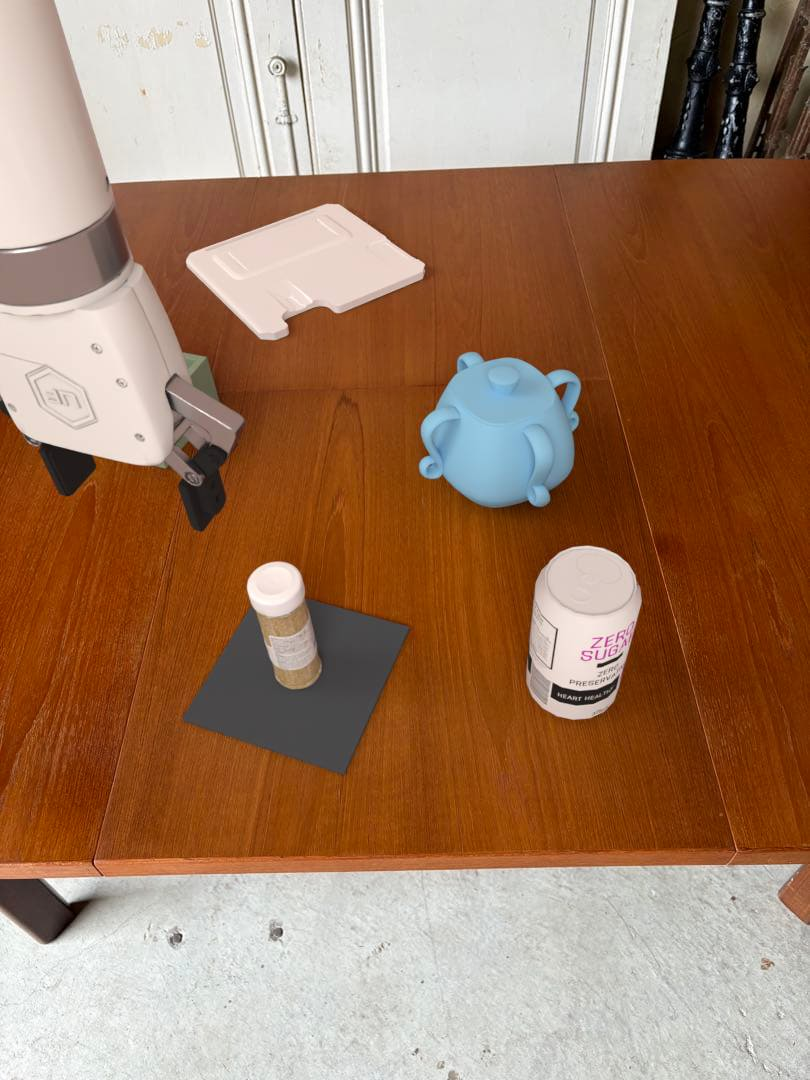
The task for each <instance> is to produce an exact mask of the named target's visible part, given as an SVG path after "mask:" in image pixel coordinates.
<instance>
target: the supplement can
mask: <svg viewBox="0 0 810 1080" xmlns="http://www.w3.org/2000/svg"><path fill="white" fill-rule="evenodd" d="M639 584H640V583H638V580H637V579H636V574H635V573H634V571H633V569H632V567H631V566H630V564H629V563H628V562H627V561H626V560H624V558H622V557H621V556H620V555H619V554H617V553H615V552H612V551H611V550H609V549H606V548H605V547H598V546H593V545H580V546H578V545H577V546H572V547H569V548H567V549H564V550H562V551H560V552H558V553H557V554H556V555H555V556H554V557H552V558H551V559H550V560H549V561H548V564H546V565H545V566H544V567H543V568H542V569H541V571H540V572H539V574H538V577H537V579H536V581H535V584H534V585H535V586H534V595H533V603H532V604H533V605H532V611H531V612H532V615H531V622H530V631H529V641H528V650H527V661H526V673H525V674H526V675H525V676H526V677H525V678H526V679H525V681H526V683H525V684H526V685H527V689H528V690H529V693H530V696H531V697H532V699H533V700H534V701H535V702H536V703H537V704H538V705H539V706H540V707H541V708H542V709H543V710H545V711H547V712H548V713H551V714H552V715H553V716H555V717H559V718H564V719H568V720H572V721H573V720H574V721H575V720H586V719H592V718H593V717H595V716H598V715H601V714H602V713H605V711H606V710H607V709H608V708H609V707H611V705H612V704H613V703H614V702H615V699H616V697H617V694H618V691H619V689H620V685H621V681H622V677H623V673H624V670H625V666H626V662H627V659H628V655H629V652H630V651H629V650H630V647H631V643H632V640H633V637H634V633H635V628H636V625H637V621H638V618H639V614H640V609H641V607H642V603H643V600H642V590H641V586H640V585H639Z"/></svg>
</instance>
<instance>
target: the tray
mask: <svg viewBox="0 0 810 1080" xmlns="http://www.w3.org/2000/svg"><path fill="white" fill-rule="evenodd" d="M185 264H186V267H187V269H189V270H190V271H191V272H192V274H193V275H195V276H196V277H197V279H199V280H200V281H201V282H202V284H204V286H205V287H207V288H208V290H210V291H211V292H212V293H213V294H214V295H215V297H217V298H218V299H219V300H220V301H221V302H222V303H223V304H224V305H225V306H226V307H227V308H228V309H229V310H230V311H231V312H232V313H233V314H234V315H235V316H236V317H238V319H239V320H240V321H241V322H242V323H243V324H244V325H246V327H247V328H248V329H249V330H251V332H252V333H254V334H255V335H256V337H257V338H258V339H259V340H265V341H277V340H281V339H283V338H285V337H287V336H288V335H289V334H290V330H289V325H288V322H287V323H286V322H285V321H286V320H287V319H289V318H292V317H294V316H297V315H299V314H302V313H304V312H306V311H308V310H311V309H314V308H318V307H324V308H325V307H326V308H328V309H330V310H331V311H332V312H333V313H334V314H342V313H344V312H347V311H350V310H351V309H354V308H357V307H359V306H361V305H363V304H366V303H368V302H371V301H373V300H376V299H378V298H380V297H383V296H385V295H387V294H391V293H392V292H394V291H398V290H400V289H402V288H405V287H407V286H409V285H412V284H414V283H417V282H419V281H422V280H423V279H424V276H425V273H426V269H425V267H426V264H425V263H424V262H423V261H421V260H420V259H418V258H417V259H416V257H413V256H412V255H410V254H409V253H407V252H406V251H405V250H403V249H402V248H400V247H399V246H397V245H396V244H394V243H393V241H392V242H391V240H389V239H388V238H387V236H385V235H384V234H382V233H381V232H379V231H378V229H376V228H374V227H372V226H371V225H370V224H368V223H367V222H366V221H364V220H362V219H361V218H360V217H358V216H357V215H355V214H354V213H352V212H351V211H349V210H348V209H347V208H345V207H344V206H342V205H341V204H339V203H325V204H322V205H319V206H317V207H314V208H310V209H308V210H306V211H303V212H300V213H297V214H294V215H292V216H289V217H286V218H284V219H280V220H278V221H274V222H272V223H270V224H266V225H264V226H261V227H259V228H256V229H252V230H250V231H248V232H245V233H242V234H239V235H236V236H233V237H231V238H228V239H225V240H223V241H220V242H217V243H214V244H212V245H209V246H205V247H203V248H201V249H200V248H199V249H197V250H195V251H192V252H190V253H189V254H188V255H187V257H186V260H185Z"/></svg>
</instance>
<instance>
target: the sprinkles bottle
mask: <svg viewBox="0 0 810 1080" xmlns="http://www.w3.org/2000/svg"><path fill="white" fill-rule="evenodd" d="M303 579H304V578H303V576H302V574H301V572H300V570H299V569H298V568H297V567H296V566H295V565H293V564H291V563H289V562H286V561H278V560H277V561H270V562H266V563H264V564H262V565H260V566H259V567H257V568H256V569H254V570H253V572H251V574H250V576H249V577H248V579H247V583H246V591H247V594H248V599H249V601H250V604H251V606H253V608H254V609H255V610H256V613H257V616H258V620H259V623H260V626H261V630H262V633H263V636H264V641H265V644H266V647H267V651H268V654H269V657H270V659H271V661H272V664H273V667H274V673H275V677H276V679H277V681H278V682H279V683H280V684H281V685H283V686H284V687H287V688H289V689H302V688H306V687H308V686H310V685H312V684H313V683H314V682H315V681H316V680H317V679H318V678H319V676H320V674H321V671H322V662H321V659H320V657H319V655H318V651H317V643H316V638H315V634H314V630H313V626H312V622H311V618H310V613H309V610H308V607H307V604H306V600H305V598H306V587H305V583H304V580H303Z"/></svg>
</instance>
